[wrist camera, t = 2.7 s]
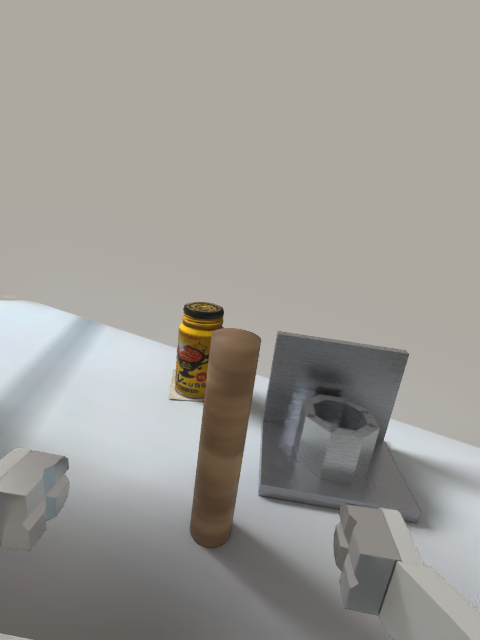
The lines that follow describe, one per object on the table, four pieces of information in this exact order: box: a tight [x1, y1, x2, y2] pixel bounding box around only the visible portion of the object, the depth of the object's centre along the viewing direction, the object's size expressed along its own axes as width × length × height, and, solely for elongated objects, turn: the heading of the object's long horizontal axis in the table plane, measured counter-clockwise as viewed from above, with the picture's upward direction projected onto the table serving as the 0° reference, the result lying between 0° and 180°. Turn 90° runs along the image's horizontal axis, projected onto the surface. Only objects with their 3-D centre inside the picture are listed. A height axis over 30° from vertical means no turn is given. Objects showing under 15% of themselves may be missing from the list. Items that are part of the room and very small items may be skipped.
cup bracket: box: [258, 331, 421, 523], centre depth 33 cm, size 12×14×12 cm
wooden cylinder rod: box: [190, 328, 261, 547], centre depth 24 cm, size 3×3×16 cm
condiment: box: [169, 302, 224, 401], centre depth 46 cm, size 7×8×12 cm
